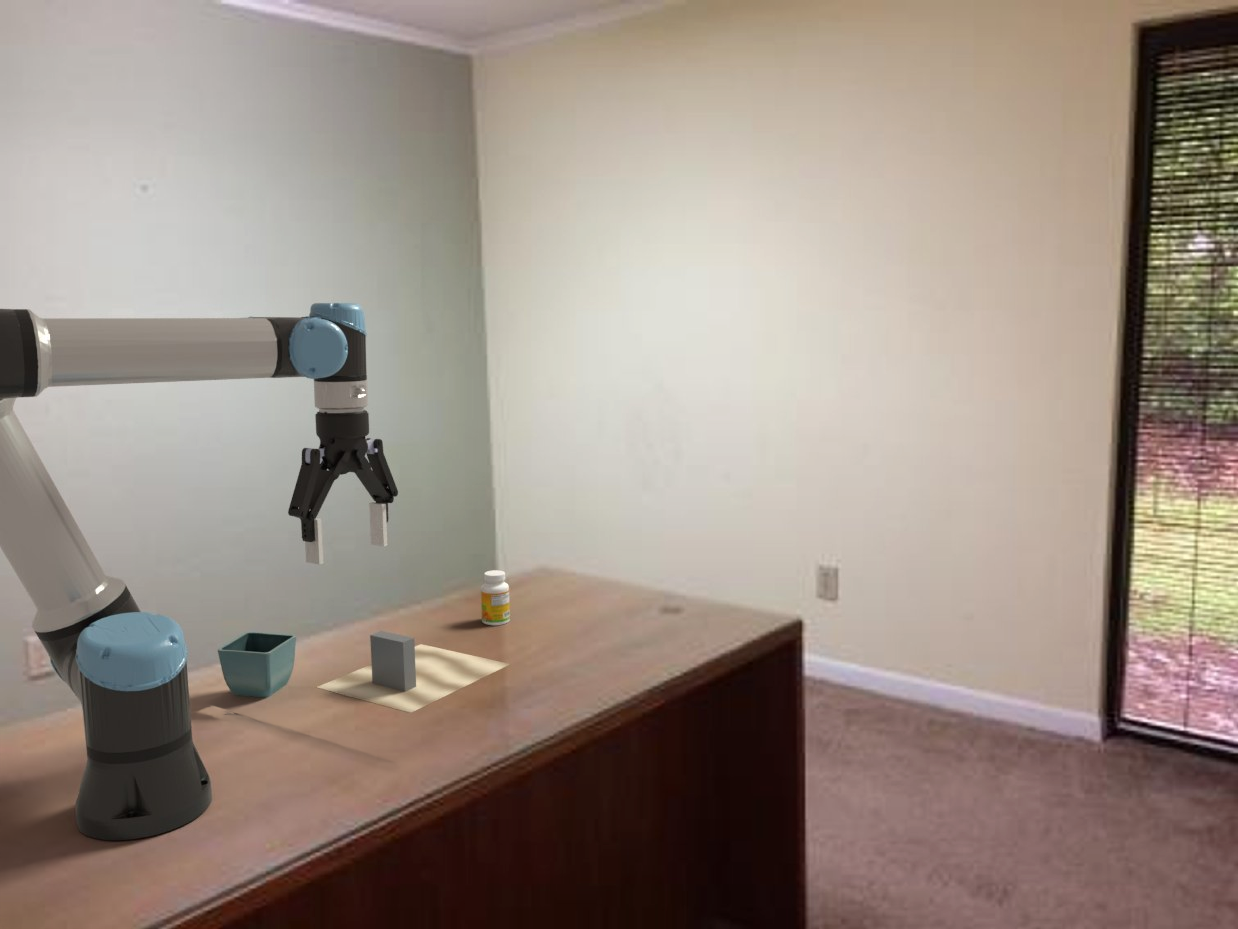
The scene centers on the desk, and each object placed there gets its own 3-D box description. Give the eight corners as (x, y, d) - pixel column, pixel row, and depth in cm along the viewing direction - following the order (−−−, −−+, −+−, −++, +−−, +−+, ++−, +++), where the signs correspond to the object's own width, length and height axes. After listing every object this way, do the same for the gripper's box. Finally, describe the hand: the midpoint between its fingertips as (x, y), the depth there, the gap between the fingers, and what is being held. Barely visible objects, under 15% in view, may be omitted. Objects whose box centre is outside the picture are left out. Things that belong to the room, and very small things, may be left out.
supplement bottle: (479, 619, 202) (478, 570, 200) (506, 616, 203) (505, 568, 202) (484, 627, 196) (483, 577, 195) (512, 624, 198) (511, 575, 197)
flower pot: (272, 709, 158) (268, 652, 156) (219, 705, 160) (215, 649, 158) (300, 688, 166) (297, 634, 165) (250, 684, 168) (247, 631, 167)
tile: (405, 691, 161) (403, 642, 160) (372, 683, 165) (370, 635, 163) (417, 685, 163) (415, 637, 162) (385, 677, 167) (383, 630, 166)
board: (410, 720, 153) (410, 712, 153) (316, 694, 163) (316, 687, 163) (510, 670, 173) (510, 664, 173) (420, 650, 184) (420, 644, 183)
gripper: (294, 419, 138) (302, 575, 142) (418, 404, 159) (422, 540, 162) (256, 416, 142) (264, 568, 145) (382, 401, 163) (387, 535, 166)
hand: (348, 553), depth 154 cm, fingers open, 12 cm apart
